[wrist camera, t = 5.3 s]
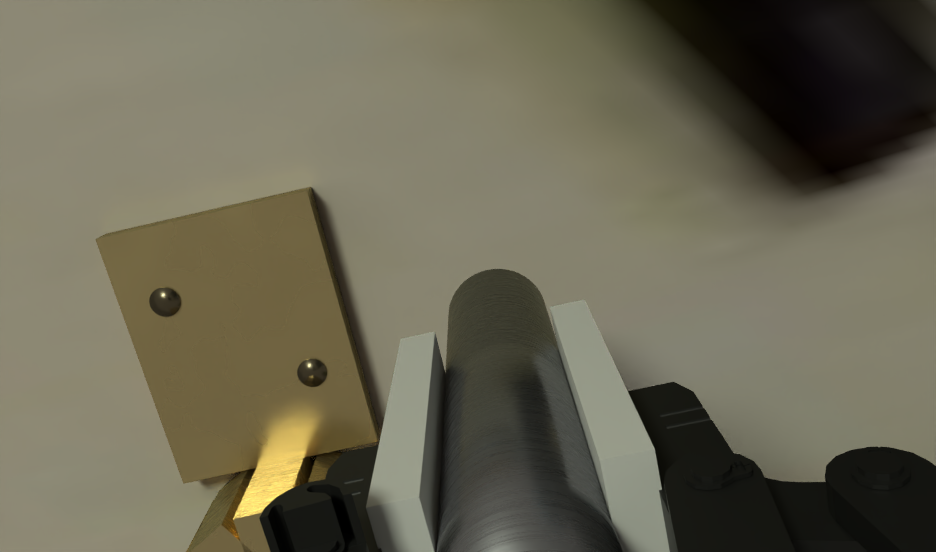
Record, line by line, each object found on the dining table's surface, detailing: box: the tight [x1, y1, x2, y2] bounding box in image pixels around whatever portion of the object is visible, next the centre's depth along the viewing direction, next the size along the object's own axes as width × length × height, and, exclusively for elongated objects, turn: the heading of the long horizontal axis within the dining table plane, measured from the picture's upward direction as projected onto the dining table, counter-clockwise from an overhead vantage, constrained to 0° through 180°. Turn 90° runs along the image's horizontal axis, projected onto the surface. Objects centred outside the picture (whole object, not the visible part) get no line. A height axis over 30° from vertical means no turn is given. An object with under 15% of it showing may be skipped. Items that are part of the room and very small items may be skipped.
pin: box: [436, 269, 623, 552], centre depth 15 cm, size 4×4×14 cm
